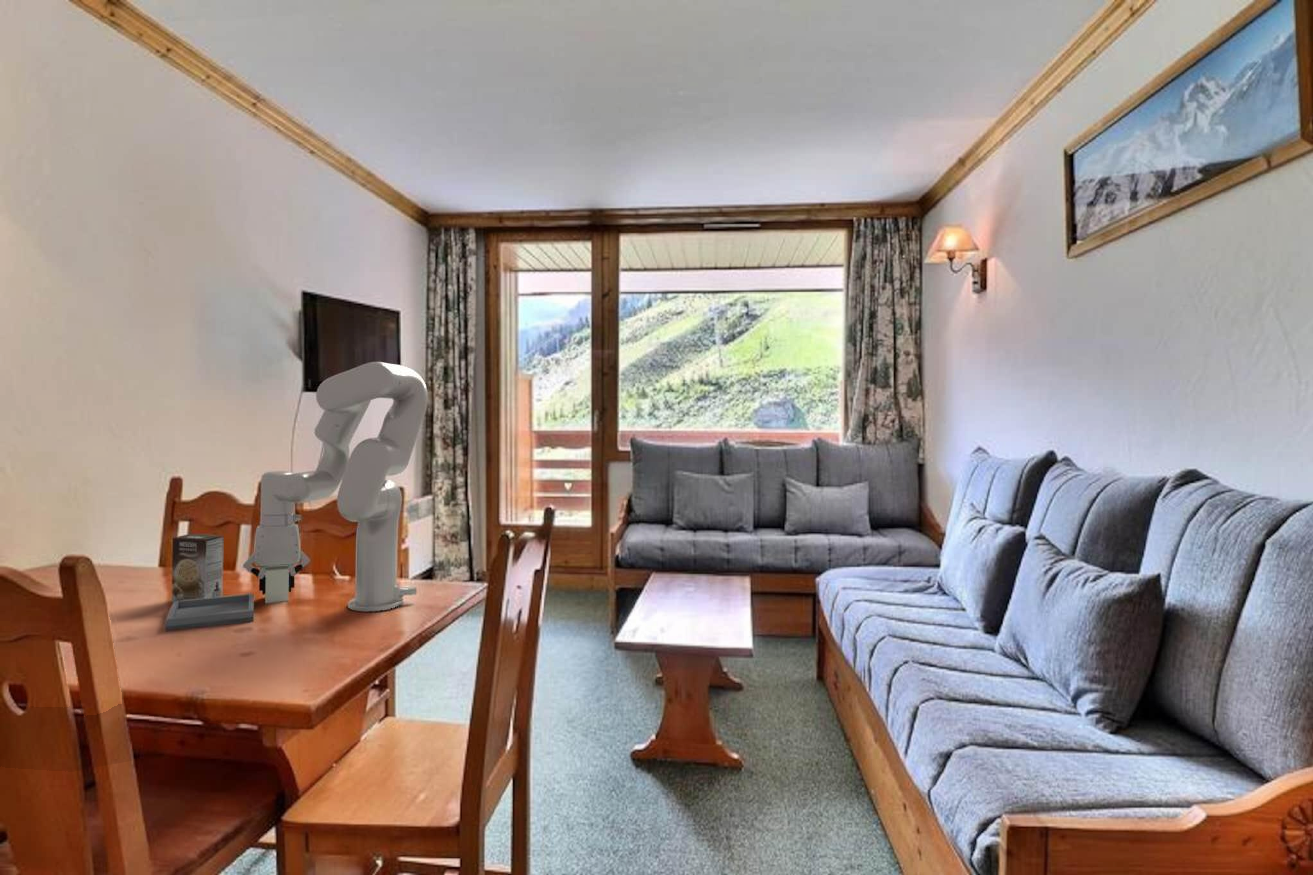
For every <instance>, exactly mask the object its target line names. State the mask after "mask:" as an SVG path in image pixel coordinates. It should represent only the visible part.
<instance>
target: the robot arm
mask: <svg viewBox="0 0 1313 875" xmlns="http://www.w3.org/2000/svg"><path fill="white" fill-rule="evenodd" d="M315 397H316V398H315V399H316V403H317V405H318V406H319V408H321V409H322V410H323V412H322V414H321V417H320V418H319V421H318V423H317V424H316V427H314V435H315V437H316V438H317V439H318V440H319V442H321V443H322V444H323V454H322V457H321V460H320V461H319V463H318V465H317V467H316V469H315V470H311V471H304V472H296V473H295V472H291V471H283V470H282V471H280V470H279V471H274V470H273V471H267V472H264V473H263V474H262V475H261V480H260V525H258V526H257V527H256V530H255V534H254V535H255V536H254V542H253V544H254V545H253V546H254V547H253V553H251V555H250V557H249V558H247V560H246V561H245V562H244V563H243V565H242V567H243V569H245V570H247V571H248V572H250V573H252V574H253V575H254V576H256V578H258V579H259V580H258V582H259V584H258V588H259V589H258V591H259V592H262V594H261V595H264V596H265V589H266V577H265V573H266V568H267V567H271V566H284V565H288V568H289V593H292V589H294V588H295V576H296V575H297V574H298V573H299V572H300V571H301V570H302V569H303V568H304V567H306V566H307V565H308V564H309V563H310V562H311V559H310V558H309V557H308V556H307V555H306V554H305V552H303V551H302V549H301V539H300V538H301V536H300V529H299V525H298V524H297V522H299V521H302V514H299V515H298V514H296V504H305V503H309V502H314V501H320V500H324V499H327V498H330V497H331V496H332V495H333V494H334V493H335V492H337V490H338V492H337V496H336V497H337V498H336V505H337V509H338V513H339V514H340V515H341V517H343V518H344V519H345V520H347V521H349V522H353V523H354V522H356V523H357V528H356V532H355V533H356V537H355V538H356V540H355V584H354V586H355V590H354V591H355V593H354V594H355V595H354V597H353V598H351V599H350V600H349V601H348V602H347V608H349V610H352V611H355V612H367V613H368V612H370V611H371V612H380V611H381V610H382V611H388V610H392V609H395V607H396V608H397V606H398V607H400V606H401V605H403V603H404V596H414V595H417V586H410V585H409V586H408V585H407V586H399V584H398V580H397V579H398V541H399V540H398V539H399V536H398V535H399V519H400V515H401V510H402V503H403V502H402V501H403V496H402V491H401V488H400V486H398V484H397V483H396V482H394V481H393V480H392V479H389V478H386V477H390V476H395V475H396V476H397V475H398V474H402V473H403V472H404V471H405V470H406V469H407V468H408V466H409V464H410V460H411V456H412V454H413V450H414V447H415V444H416V441H417V438H418V434H419V430H420V427H421V425H422V422H423V420H424V417H425V414H426V411H427V408H428V403H429V392H428V387H427V384H426V383H425V381H424V380H423V378H422V377H421V376H420V374H419V373H417V372H416V371H415V370H414V369H411V368H410V367H407V366H406V365H405V366H404V365H402V364H396V363H388V362H382V361H370V362H367V363H363V364H361V365H359V366H357V367H353V368H351V369H349V370H346V371H342V372H340V373H337V374H334V375H333V376H330V377H328V378H326V379H324V380H323V381H322V382H321V383H320V384H319V386H318V387H317V390H316V394H315ZM375 399H388V400H389V399H392V400H393V401H392V402H393V403H392V404H391V407H389V409H388V410H387V412H386V414H385V415H384V419H383V421H382V425H381V427H380V431H379V432H378V436H377V437H369V438H367V439H362V441H360V442H359V443H357V445H356V446H355V447H354V448H353V450H352V452H351V453H350V443H351V441H352V439H353V437H354V436H355V433H356V432H357V429H358V427H359V425H360V423H361V422H362V419H363V418H364V415H365V414H366V412H367V410H368V408H369V406H370V403H371V401H372V400H375ZM338 488H339V489H338ZM300 560H301V562H300ZM253 563H254V565H255V566H253V565H252V564H253ZM258 567H259V569H258ZM400 604H401V605H400ZM399 605H400V606H399ZM391 608H392V609H391ZM382 611H381V612H382Z"/></svg>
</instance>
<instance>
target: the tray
mask: <svg viewBox="0 0 1313 875" xmlns="http://www.w3.org/2000/svg"><path fill="white" fill-rule="evenodd" d="M254 606H255V592H254V593H244V594H243V593H242V594H235V595H233V594H232V595H224V596H223V595H222V597H211V598H201V599H190V600H180V601H174V602H172V604H171V607H170V608H169V611H168V613H167V616H166V619H165V632H172V631H179V630H180V631H181V630H188V629H189V630H190V629H197V628H208V627H217V626H225V625H233V624H241V623H240V622H243V623H251V621H252V622H254V614H255V613H254V612H255V610H254V609H255V607H254ZM224 624H225V625H224Z"/></svg>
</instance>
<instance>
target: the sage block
mask: <svg viewBox="0 0 1313 875" xmlns="http://www.w3.org/2000/svg"><path fill="white" fill-rule="evenodd" d="M289 572H290V571H289V568H288V565H284V566H271V567H267V568H266V571H265V577H266V589H265V595H264V596H265V597H264V600H265V602H264V603H265V604H271V603H274V604H275V603H283V602H289V598H290V596H289V593H290V592H289Z"/></svg>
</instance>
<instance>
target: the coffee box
mask: <svg viewBox="0 0 1313 875" xmlns="http://www.w3.org/2000/svg"><path fill="white" fill-rule="evenodd" d="M171 556H172V558H171V559H172V560H171V561H172V563H171V565H172V568H171V569H172V570H171V571H172V572H171V573H172V574H171V603H173V602H174V601H180V600H190V599H201V598H211V597H222V596H223V582H224V581H223V579H224V577H223V576H224V535H220V534H219V535H218V534H206V533H205V534H204V533H194V532H193V533H189V534H184V535H178V536H175V537H173V538H172V555H171Z"/></svg>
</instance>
